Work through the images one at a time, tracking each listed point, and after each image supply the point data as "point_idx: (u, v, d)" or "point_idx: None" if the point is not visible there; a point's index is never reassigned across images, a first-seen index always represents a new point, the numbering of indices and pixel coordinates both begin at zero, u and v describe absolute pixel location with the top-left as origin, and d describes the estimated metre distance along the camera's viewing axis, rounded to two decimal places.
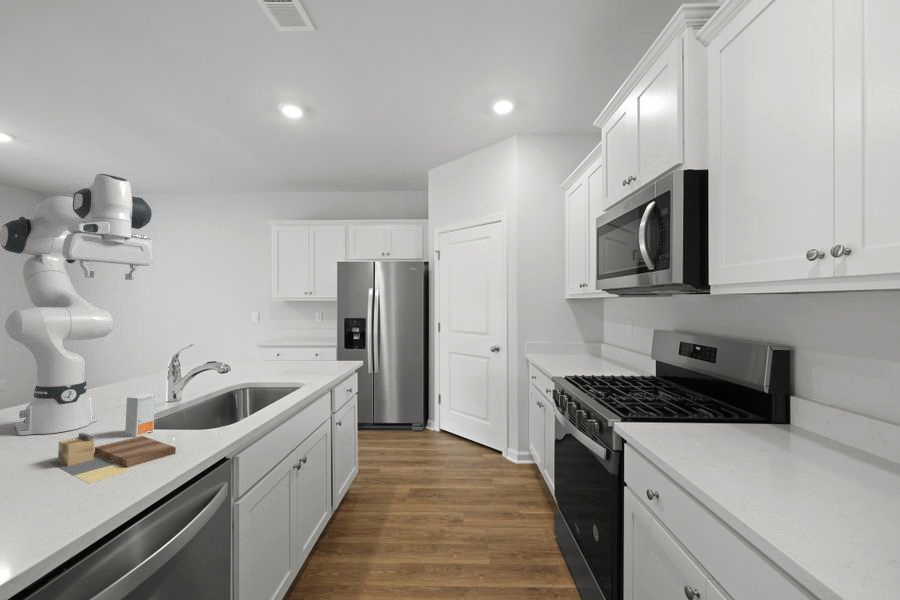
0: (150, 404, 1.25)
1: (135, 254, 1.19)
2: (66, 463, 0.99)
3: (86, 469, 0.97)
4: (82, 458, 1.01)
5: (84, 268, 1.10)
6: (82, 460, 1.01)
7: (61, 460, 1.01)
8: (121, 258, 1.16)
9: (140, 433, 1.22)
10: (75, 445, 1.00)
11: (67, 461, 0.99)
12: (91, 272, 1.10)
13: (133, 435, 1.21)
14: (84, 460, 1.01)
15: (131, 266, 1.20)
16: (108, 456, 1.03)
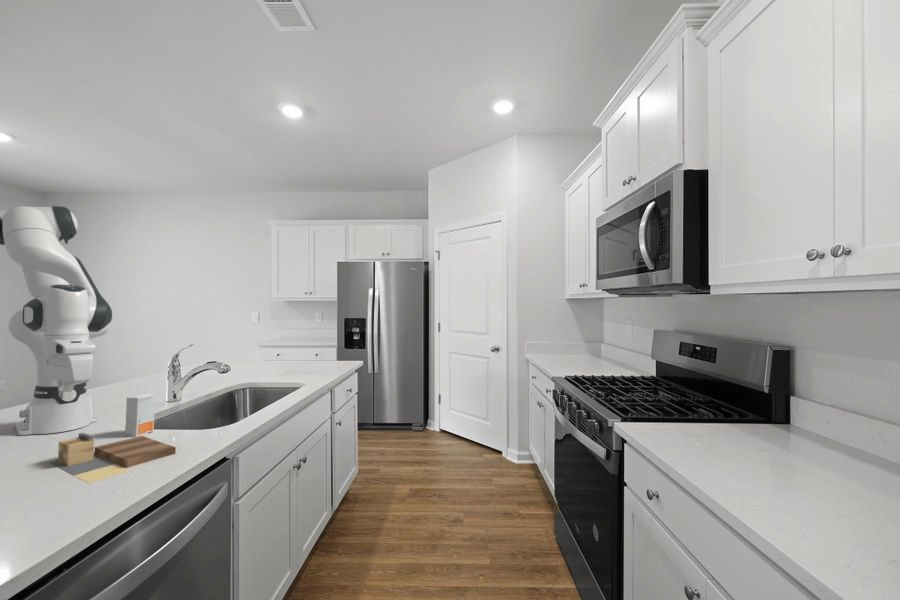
0: (150, 404, 1.25)
1: None
2: (66, 463, 0.99)
3: (86, 469, 0.97)
4: (82, 458, 1.01)
5: (69, 388, 1.06)
6: (82, 460, 1.01)
7: (61, 460, 1.01)
8: None
9: (140, 433, 1.22)
10: (75, 445, 1.00)
11: (67, 461, 0.99)
12: None
13: (133, 435, 1.21)
14: (84, 460, 1.01)
15: None
16: (108, 456, 1.03)
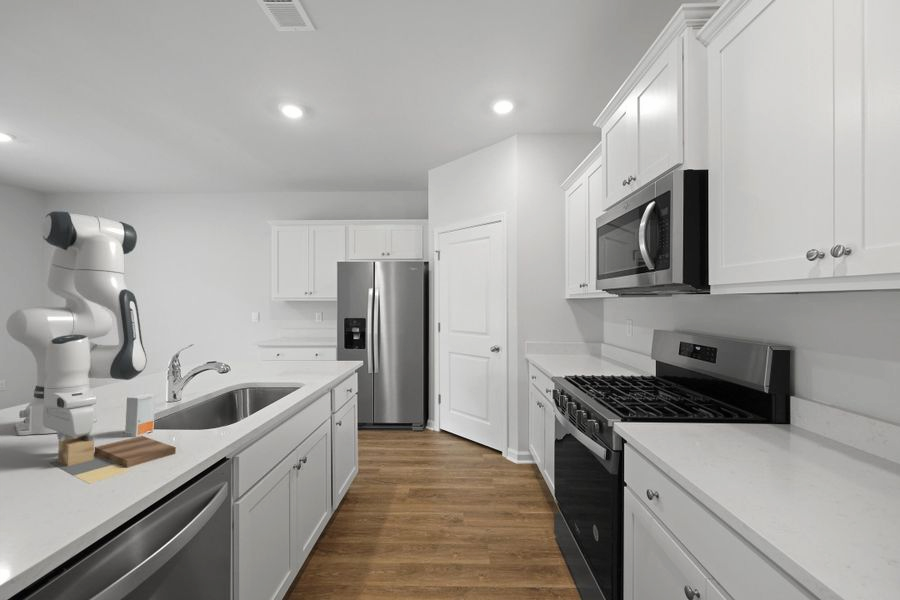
0: (150, 404, 1.25)
1: None
2: (66, 463, 0.99)
3: (86, 469, 0.97)
4: (82, 458, 1.01)
5: None
6: (82, 460, 1.01)
7: (61, 460, 1.01)
8: None
9: (140, 433, 1.22)
10: (75, 445, 1.00)
11: (67, 461, 0.99)
12: None
13: (133, 435, 1.21)
14: (84, 460, 1.01)
15: None
16: (108, 456, 1.03)
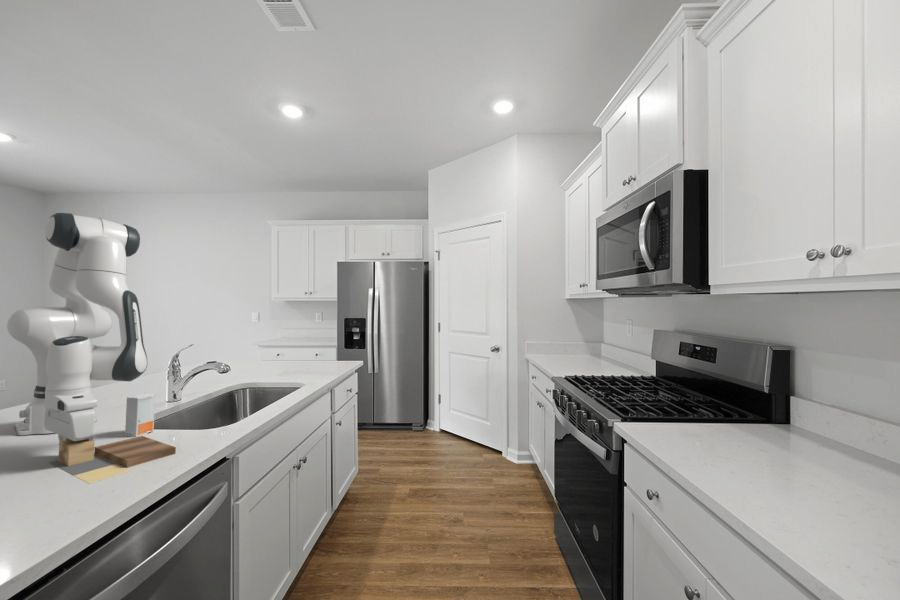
0: (150, 404, 1.25)
1: None
2: (66, 463, 0.99)
3: (86, 469, 0.97)
4: (83, 458, 1.01)
5: None
6: (82, 460, 1.01)
7: (61, 460, 1.00)
8: None
9: (140, 433, 1.22)
10: (75, 445, 1.00)
11: (67, 461, 0.99)
12: None
13: (133, 435, 1.21)
14: (84, 460, 1.01)
15: None
16: (108, 456, 1.03)
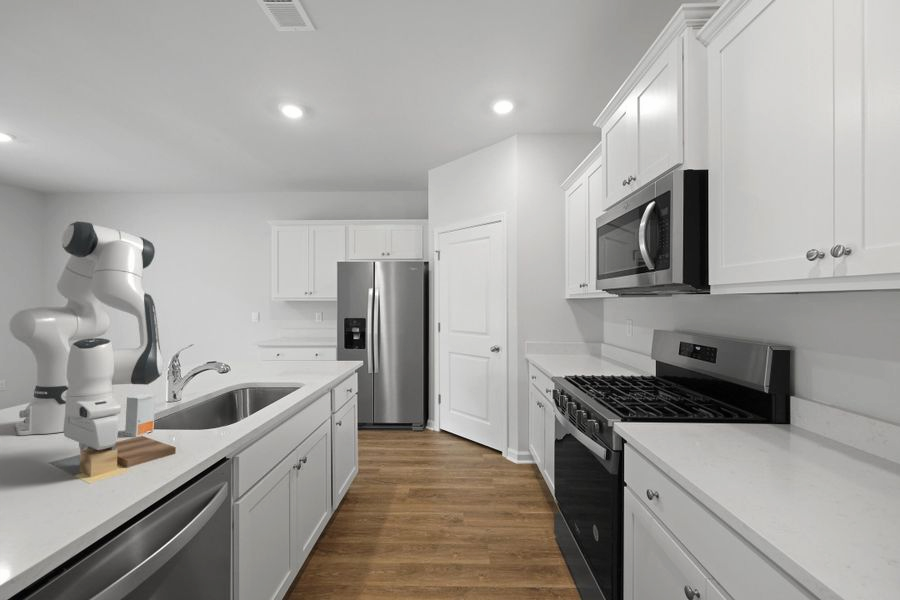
0: (150, 404, 1.25)
1: None
2: (89, 474, 0.93)
3: None
4: (106, 469, 0.95)
5: None
6: (105, 470, 0.95)
7: (83, 470, 0.95)
8: None
9: (140, 433, 1.22)
10: (98, 454, 0.94)
11: (90, 472, 0.93)
12: None
13: (133, 435, 1.21)
14: (107, 470, 0.96)
15: None
16: None
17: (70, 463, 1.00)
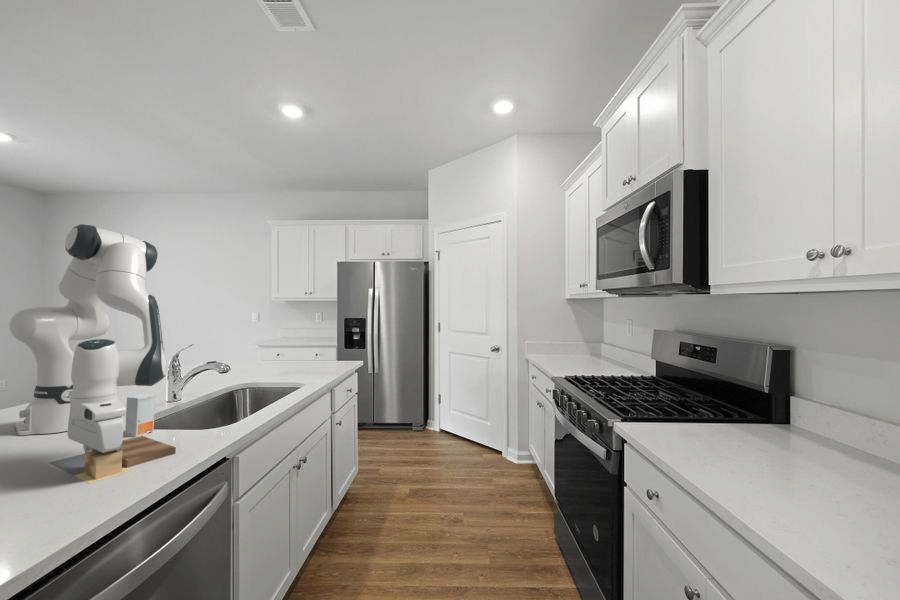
0: (150, 404, 1.25)
1: None
2: (93, 476, 0.92)
3: None
4: (110, 471, 0.94)
5: None
6: (110, 473, 0.94)
7: (88, 473, 0.94)
8: None
9: (140, 433, 1.22)
10: (102, 456, 0.93)
11: (94, 474, 0.92)
12: None
13: (133, 435, 1.21)
14: (112, 473, 0.94)
15: None
16: None
17: (70, 463, 1.00)
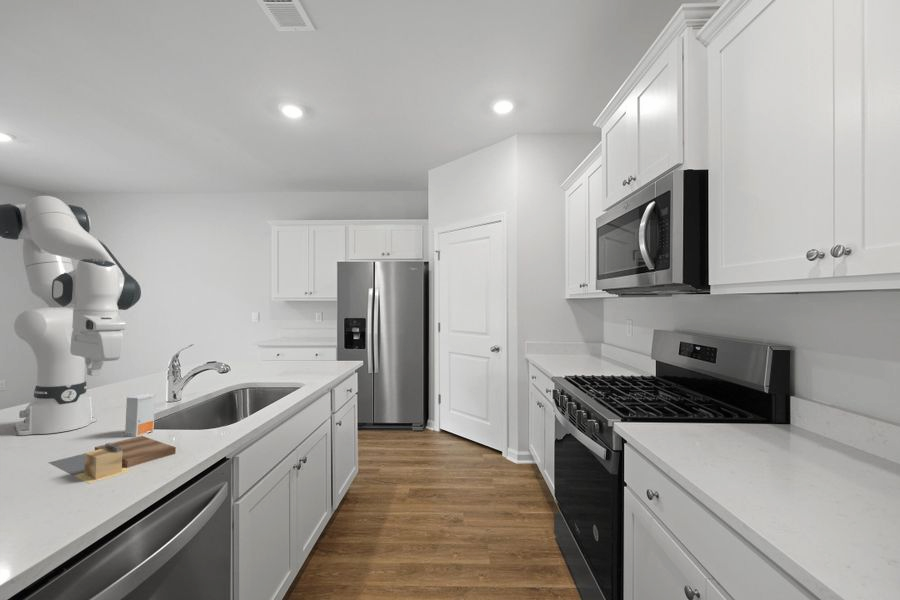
0: (150, 404, 1.25)
1: None
2: (93, 476, 0.92)
3: None
4: (110, 471, 0.94)
5: (98, 366, 1.02)
6: (110, 473, 0.94)
7: (88, 473, 0.94)
8: None
9: (140, 433, 1.22)
10: (102, 456, 0.93)
11: (94, 474, 0.92)
12: None
13: (133, 435, 1.21)
14: (112, 473, 0.94)
15: None
16: None
17: (70, 463, 1.00)
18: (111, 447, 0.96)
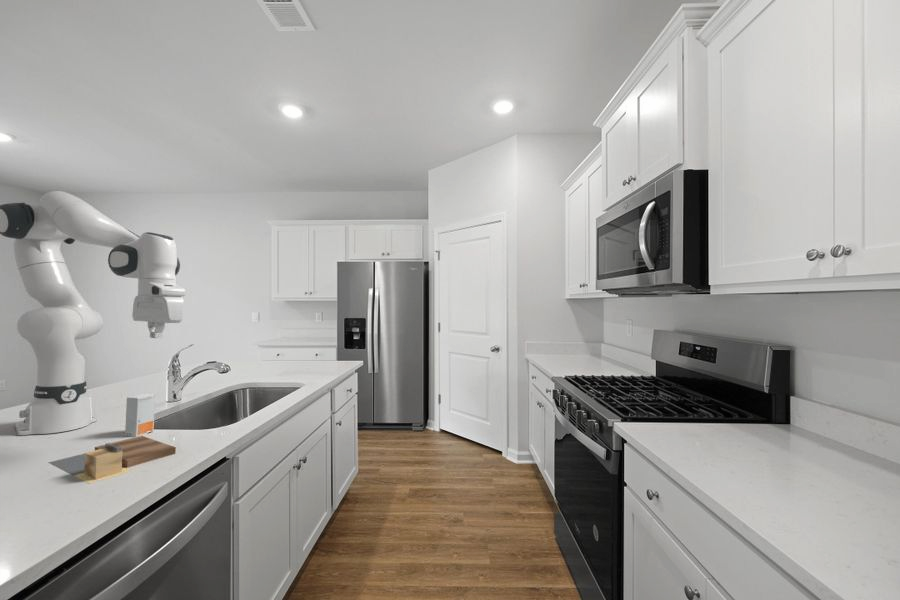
0: (150, 404, 1.25)
1: None
2: (93, 476, 0.92)
3: None
4: (110, 471, 0.94)
5: (160, 329, 1.13)
6: (110, 473, 0.94)
7: (88, 473, 0.94)
8: None
9: (140, 433, 1.22)
10: (102, 456, 0.93)
11: (94, 474, 0.92)
12: None
13: (133, 435, 1.21)
14: (112, 473, 0.94)
15: (154, 323, 1.14)
16: None
17: (70, 463, 1.00)
18: (111, 447, 0.96)
